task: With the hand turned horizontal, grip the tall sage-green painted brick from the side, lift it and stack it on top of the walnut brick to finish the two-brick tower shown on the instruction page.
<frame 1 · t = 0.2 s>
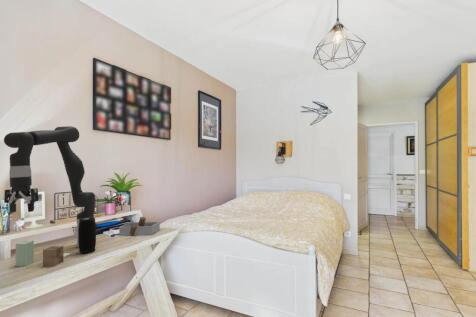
hand: (22, 211, 115), 29 cm above the table, tool pointing down, fingers open, 8 cm apart
instruction page: (56, 256, 139), on the table
wooden block set: (140, 232, 187), touching organizer tray
walnut brick: (53, 263, 128), on the table
organizer tray: (140, 232, 187), on the table
portable speaker: (87, 252, 146), on the table
sage brick: (24, 264, 129), on the table
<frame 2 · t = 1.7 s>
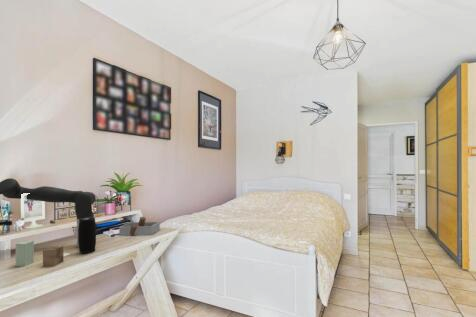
hand: (3, 225, 130), 20 cm above the table, tool horizontal, fingers open, 8 cm apart
nothing on the table moved.
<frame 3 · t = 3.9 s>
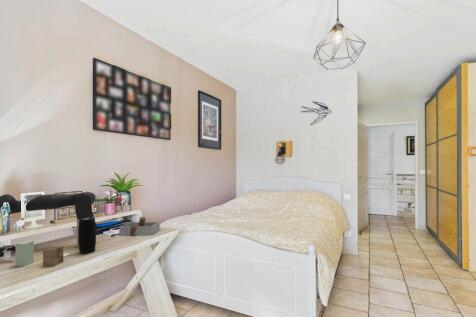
hand: (11, 251, 129), 6 cm above the table, tool horizontal, fingers open, 8 cm apart
nothing on the table moved.
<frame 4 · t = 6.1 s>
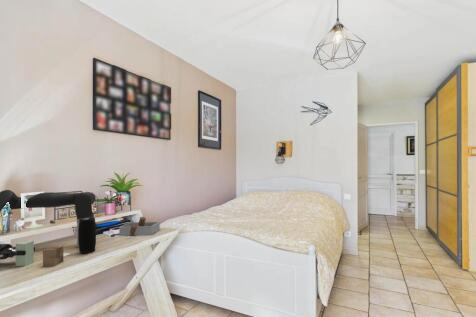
hand: (29, 251, 129), 7 cm above the table, tool horizontal, fingers closed on sage brick, 5 cm apart
sage brick: (24, 264, 129), on the table, touching gripper
everything else where it was.
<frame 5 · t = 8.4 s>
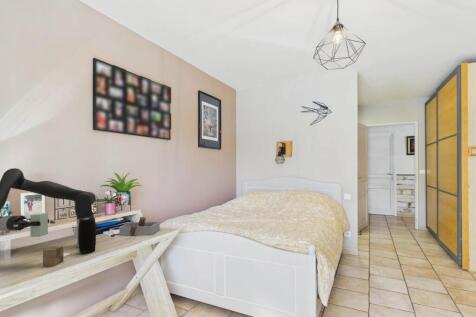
hand: (44, 222, 129), 21 cm above the table, tool horizontal, fingers closed on sage brick, 5 cm apart
sage brick: (39, 235, 129), point 14 cm above the table, touching gripper
everything else where it was.
when the fingers open (16 cm above the table, at t = 10.6 s): sage brick drops 1 cm, resting on walnut brick.
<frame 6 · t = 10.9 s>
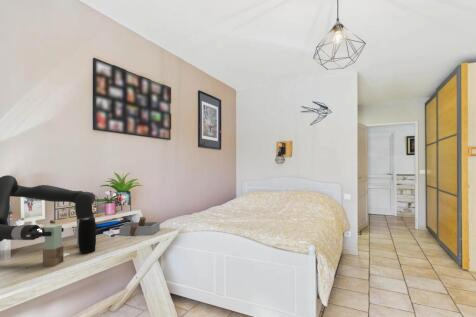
hand: (57, 231, 129), 16 cm above the table, tool horizontal, fingers open, 7 cm apart
walnut brick: (53, 263, 128), on the table, touching sage brick
sage brick: (53, 247, 129), point 8 cm above the table, touching walnut brick
everything else where it was.
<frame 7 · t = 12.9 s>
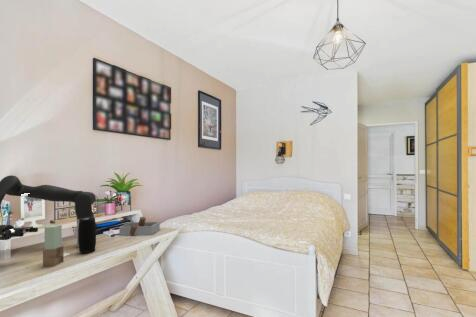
hand: (30, 231, 129), 16 cm above the table, tool horizontal, fingers open, 8 cm apart
nothing on the table moved.
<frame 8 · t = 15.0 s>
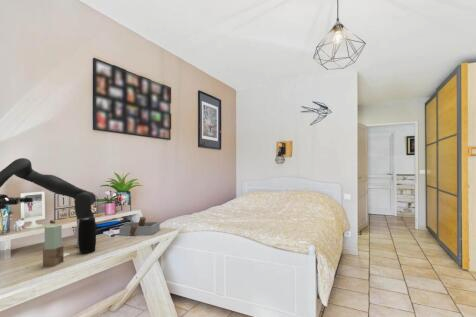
hand: (24, 201, 130), 32 cm above the table, tool horizontal, fingers open, 8 cm apart
nothing on the table moved.
at the end: sage brick 0.1 cm off-centre on the walnut brick, point 8.0 cm above the walnut brick's base; sage brick tilted 0°; the gripper is holding nothing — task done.
